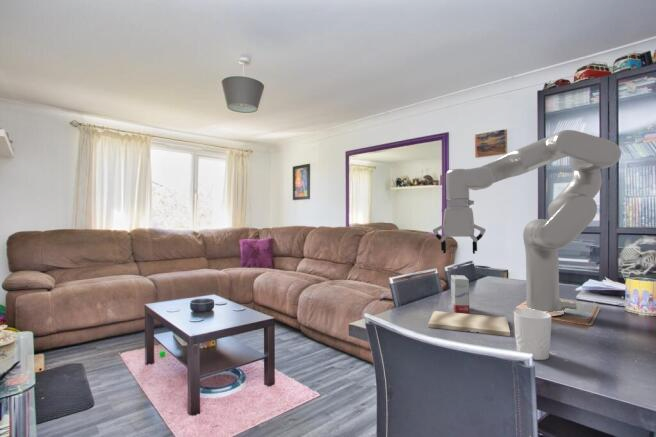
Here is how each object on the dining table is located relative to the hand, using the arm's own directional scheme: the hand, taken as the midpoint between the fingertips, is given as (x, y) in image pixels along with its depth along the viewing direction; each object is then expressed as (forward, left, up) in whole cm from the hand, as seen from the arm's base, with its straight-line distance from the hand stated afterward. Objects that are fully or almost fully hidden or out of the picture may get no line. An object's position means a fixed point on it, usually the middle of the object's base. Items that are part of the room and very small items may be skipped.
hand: (459, 253), depth 121 cm
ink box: (0, 0, -21) cm, 21 cm away
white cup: (-18, +34, -21) cm, 43 cm away
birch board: (-3, +15, -20) cm, 25 cm away
